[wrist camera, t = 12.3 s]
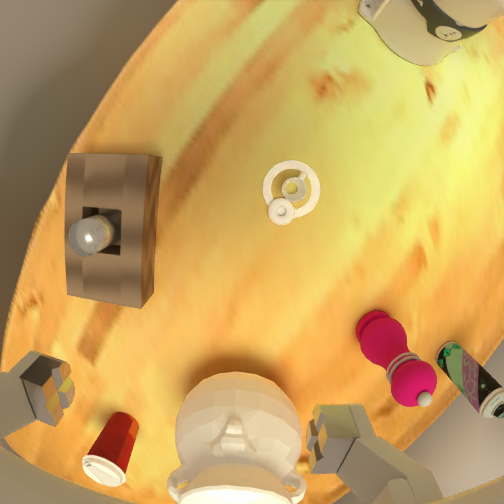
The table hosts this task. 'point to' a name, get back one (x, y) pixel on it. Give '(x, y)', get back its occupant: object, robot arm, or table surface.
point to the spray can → (472, 380)
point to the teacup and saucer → (284, 205)
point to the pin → (95, 233)
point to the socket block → (132, 225)
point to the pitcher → (237, 443)
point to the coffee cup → (112, 451)
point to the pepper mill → (396, 359)
